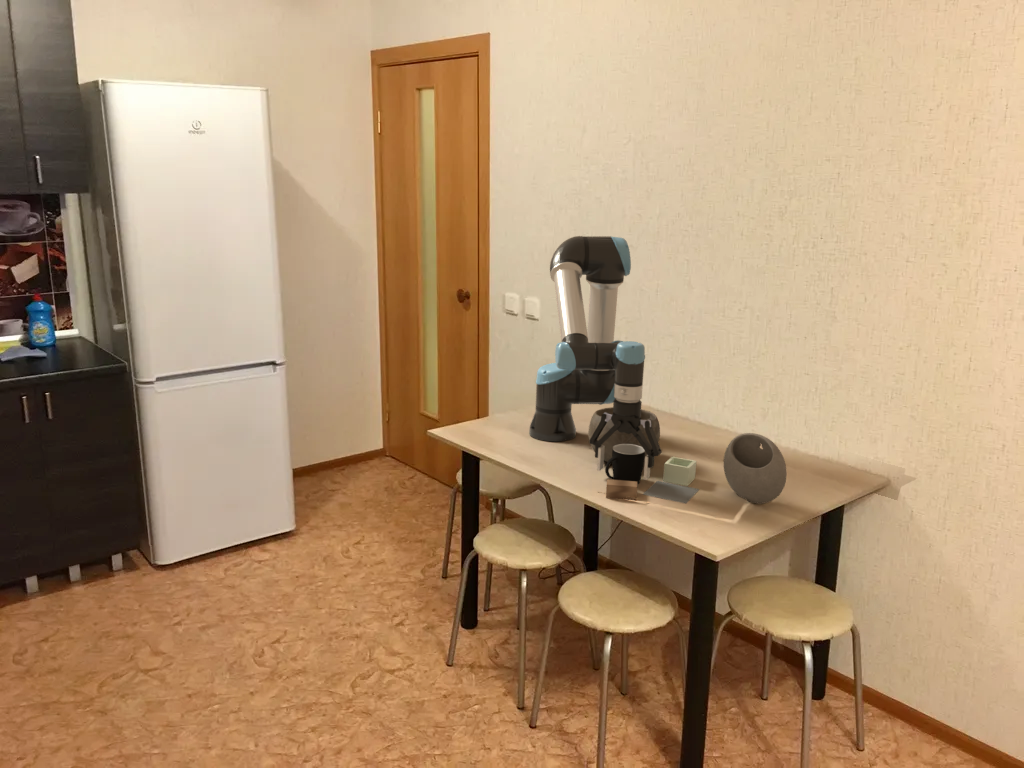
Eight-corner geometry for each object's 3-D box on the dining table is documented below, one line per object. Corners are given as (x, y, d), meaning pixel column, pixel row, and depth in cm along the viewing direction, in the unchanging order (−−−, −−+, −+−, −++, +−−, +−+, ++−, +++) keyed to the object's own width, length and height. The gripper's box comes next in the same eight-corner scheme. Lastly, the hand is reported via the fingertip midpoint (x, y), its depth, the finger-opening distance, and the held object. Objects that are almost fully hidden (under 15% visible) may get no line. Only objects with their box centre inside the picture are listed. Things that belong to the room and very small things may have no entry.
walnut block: (605, 498, 225) (606, 484, 224) (606, 493, 229) (607, 479, 228) (636, 501, 224) (637, 486, 223) (636, 495, 228) (637, 481, 227)
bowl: (616, 445, 268) (619, 399, 264) (671, 462, 254) (675, 414, 250) (573, 460, 254) (575, 411, 250) (628, 479, 240) (631, 428, 236)
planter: (713, 494, 230) (719, 428, 225) (728, 488, 234) (735, 423, 230) (774, 515, 216) (781, 446, 212) (789, 509, 221) (797, 440, 216)
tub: (662, 483, 236) (664, 463, 235) (670, 476, 242) (672, 456, 241) (687, 488, 233) (688, 468, 232) (694, 481, 239) (696, 460, 238)
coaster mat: (642, 497, 226) (642, 494, 226) (657, 483, 237) (657, 480, 236) (685, 506, 221) (686, 503, 221) (699, 491, 231) (699, 489, 231)
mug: (629, 475, 242) (631, 442, 239) (649, 486, 234) (652, 451, 232) (595, 482, 236) (597, 448, 233) (614, 493, 228) (617, 457, 226)
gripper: (579, 395, 232) (576, 469, 237) (667, 409, 220) (662, 486, 225) (590, 390, 238) (587, 461, 243) (676, 403, 227) (671, 478, 232)
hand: (623, 473), depth 234 cm, fingers open, 13 cm apart
